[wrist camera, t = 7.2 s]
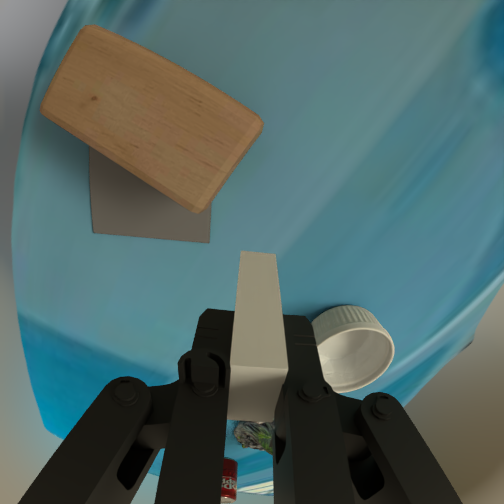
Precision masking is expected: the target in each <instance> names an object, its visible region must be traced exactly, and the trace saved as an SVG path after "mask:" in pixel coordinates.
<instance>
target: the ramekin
mask: <svg viewBox="0 0 504 504" xmlns="http://www.w3.org/2000/svg"><path fill="white" fill-rule="evenodd" d="M311 324H312V326H313V330H314V335H315V339H316V344H317V345H316V346H317V348H318V353H319V357H320V362H321V367H322V372H323V376H324V379H325V381H326V382H327V383H328V384H329V385H330V386H331V387H332V389H333V391H335V392H336V393H344V392H350V391H353V390H356V389H359V388H362V387H364V386H366V385H368V384H370V383H371V382H373V381H374V380H376V379H377V378H378V377H380V376H381V375H382V374H383V373H384V372H385V370H386V369H387V368H388V367H389V365H390V363H391V361H392V359H393V356H394V344H393V341H392V339H391V336H390V335H389V333H388V332H387V331H386V330H385V329H384V328H383V327H382V326H381V324H380V323H379V322H378V320H377V319H376V318H375V317H374V316H373V314H372V313H370V312H369V311H368V310H366V309H364V308H361V307H358V306H352V305H346V306H338V307H335V308H332V309H329V310H327V311H325V312H323V313H322V314H320V315H319V316H318V317H317V318H316V319H314V320H313V322H312V323H311Z"/></svg>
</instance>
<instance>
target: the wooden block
mask: <svg viewBox="0 0 504 504" xmlns="http://www.w3.org/2000/svg"><path fill="white" fill-rule="evenodd" d="M40 112H41V113H42V115H44V116H45V117H47V118H48V119H50V120H51V121H53V122H54V123H56V124H57V125H59V126H60V127H62V128H63V129H65V130H66V131H68V132H70V133H71V134H73V135H74V136H76V137H77V138H79V139H80V140H82V141H83V142H85V143H86V144H88V145H89V146H91V147H92V148H94V149H96V150H97V151H99V152H100V153H102V154H103V155H105V156H106V157H108V158H109V159H111V160H112V161H114V162H115V163H117V164H119V165H120V166H122V167H123V168H125V169H126V170H128V171H129V172H131V173H132V174H134V175H135V176H137V177H138V178H140V179H142V180H143V181H145V182H146V183H148V184H149V185H151V186H152V187H154V188H155V189H157V190H158V191H160V192H161V193H163V194H165V195H166V196H168V197H169V198H171V199H172V200H174V201H175V202H177V203H178V204H180V205H181V206H183V207H184V208H186V209H187V210H189V211H191V212H194V213H197V214H200V213H201V212H203V211H204V210H206V209H207V208H208V206H209V205H210V204H211V202H212V201H213V199H214V198H215V196H216V195H217V193H218V192H219V191H220V189H221V188H222V186H223V185H224V183H225V182H226V181H227V179H228V178H229V176H230V175H231V174H232V172H233V171H234V169H235V168H236V167H237V165H238V164H239V162H240V161H241V160H242V158H243V157H244V156H245V154H246V153H247V152H248V150H249V149H250V147H251V146H252V145H253V143H254V142H255V141H256V139H257V138H258V137H259V135H260V134H261V133H262V130H263V126H264V123H263V121H262V119H261V118H260V116H259V115H257V114H256V113H255V112H253V111H252V110H250V109H249V108H247V107H246V106H244V105H243V104H241V103H240V102H238V101H236V100H235V99H233V98H232V97H230V96H229V95H227V94H226V93H224V92H222V91H221V90H219V89H218V88H216V87H214V86H213V85H211V84H209V83H208V82H206V81H205V80H203V79H201V78H199V77H198V76H196V75H194V74H193V73H191V72H189V71H187V70H186V69H184V68H182V67H180V66H179V65H177V64H175V63H173V62H171V61H170V60H168V59H166V58H164V57H162V56H160V55H158V54H156V53H154V52H153V51H151V50H149V49H147V48H145V47H143V46H141V45H139V44H137V43H135V42H132V41H130V40H128V39H126V38H124V37H122V36H120V35H118V34H115V33H113V32H111V31H109V30H106V29H104V28H102V27H99V26H97V25H85V26H84V27H83V28H82V29H81V30H80V31H79V33H78V35H77V36H76V38H75V40H74V41H73V43H72V44H71V46H70V48H69V50H68V51H67V53H66V55H65V57H64V58H63V60H62V62H61V64H60V66H59V68H58V70H57V71H56V73H55V75H54V77H53V79H52V81H51V83H50V85H49V88H48V90H47V92H46V94H45V96H44V98H43V101H42V103H41V106H40Z"/></svg>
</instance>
